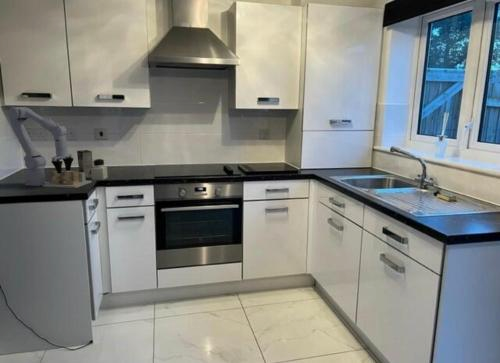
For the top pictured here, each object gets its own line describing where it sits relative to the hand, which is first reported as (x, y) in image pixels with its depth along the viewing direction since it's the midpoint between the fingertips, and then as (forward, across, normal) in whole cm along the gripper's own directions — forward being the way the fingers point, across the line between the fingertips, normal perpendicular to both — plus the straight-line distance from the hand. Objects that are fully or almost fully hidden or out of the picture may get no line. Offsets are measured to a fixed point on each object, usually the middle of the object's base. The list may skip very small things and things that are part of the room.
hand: (63, 172), depth 206 cm
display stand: (+8, +2, 0) cm, 8 cm away
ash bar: (+5, 0, 0) cm, 5 cm away
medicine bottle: (+8, +20, -9) cm, 23 cm away
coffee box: (+8, +28, +5) cm, 29 cm away
